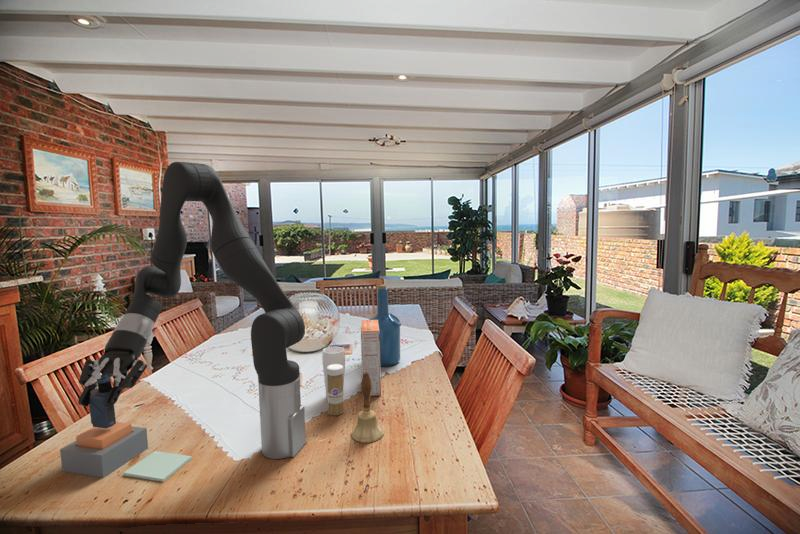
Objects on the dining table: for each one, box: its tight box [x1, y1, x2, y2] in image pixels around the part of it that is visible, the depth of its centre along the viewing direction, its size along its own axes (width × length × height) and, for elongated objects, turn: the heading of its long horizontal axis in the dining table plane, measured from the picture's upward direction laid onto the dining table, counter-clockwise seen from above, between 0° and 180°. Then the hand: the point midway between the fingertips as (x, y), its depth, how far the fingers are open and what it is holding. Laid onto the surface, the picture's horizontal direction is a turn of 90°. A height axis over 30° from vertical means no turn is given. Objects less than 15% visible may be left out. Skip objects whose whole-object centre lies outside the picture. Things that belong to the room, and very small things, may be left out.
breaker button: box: [75, 421, 132, 450], centre depth 86 cm, size 7×7×3 cm
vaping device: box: [88, 374, 117, 428], centre depth 85 cm, size 3×5×12 cm, turn 78°
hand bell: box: [350, 372, 385, 444], centre depth 96 cm, size 8×8×16 cm
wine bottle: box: [368, 284, 402, 367], centre depth 146 cm, size 14×13×30 cm
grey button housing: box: [59, 425, 149, 478], centre depth 86 cm, size 11×11×5 cm
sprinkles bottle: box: [327, 364, 345, 416], centre depth 107 cm, size 5×5×13 cm
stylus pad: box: [123, 450, 193, 483], centre depth 84 cm, size 10×8×1 cm
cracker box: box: [360, 319, 382, 397], centre depth 123 cm, size 14×6×21 cm, turn 5°
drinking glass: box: [321, 346, 346, 399], centre depth 116 cm, size 7×7×15 cm
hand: (95, 405), depth 83 cm, fingers closed on vaping device, 5 cm apart
